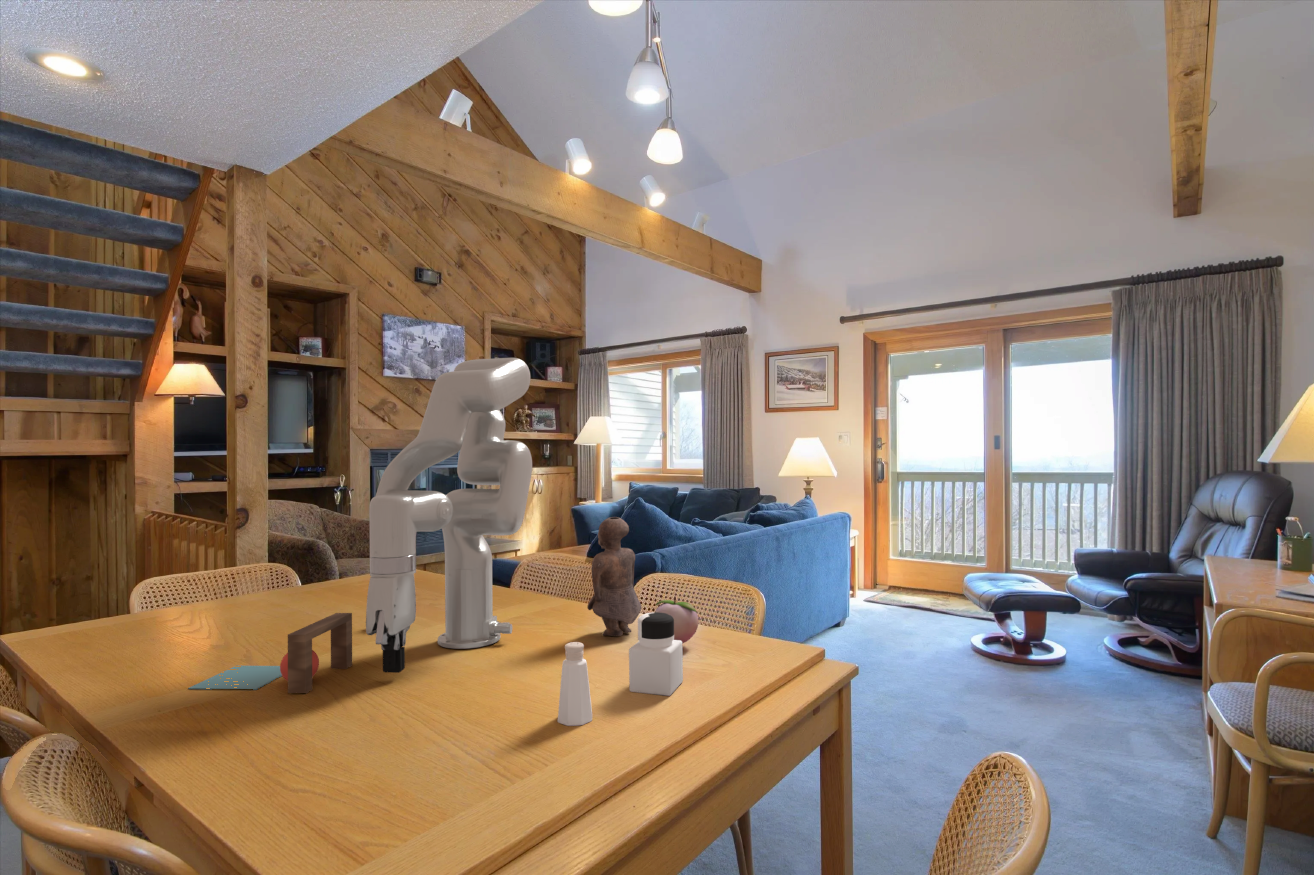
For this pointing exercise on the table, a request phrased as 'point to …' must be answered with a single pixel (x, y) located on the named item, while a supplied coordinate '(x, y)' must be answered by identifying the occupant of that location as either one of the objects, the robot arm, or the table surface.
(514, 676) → the table surface
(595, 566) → the clay figurine
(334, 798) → the table surface
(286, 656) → the ball
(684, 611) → the decorative fruit
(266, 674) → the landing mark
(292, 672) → the bridge
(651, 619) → the medicine bottle
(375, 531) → the robot arm
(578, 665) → the pepper shaker
